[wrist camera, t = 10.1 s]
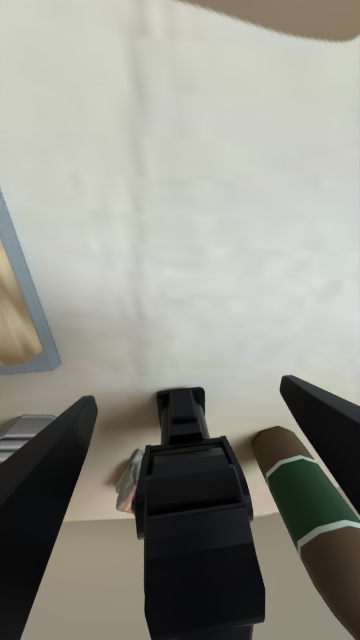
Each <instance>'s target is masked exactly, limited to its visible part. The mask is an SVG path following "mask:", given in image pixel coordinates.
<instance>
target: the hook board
mask: <svg viewBox="0 0 360 640" xmlns="http://www.w3.org/2000/svg"><path fill="white" fill-rule="evenodd" d="M0 240H1V242H2V245H3V247H4V250H5V253H6V255H7V258H8V261H9V263H10V266H11V268H12V271H13V274H14V276H15V279H16V281H17V284H18V287H19V289H20V292H21V294H22V297H23V300H24V302H25V305H26V307H27V310H28V313H29V315H30V318H31V320H32V323H33V326H34V328H35V331H36V334H37V336H38V339H39V341H40V344H41V347H42V349H43V351H41V352H40V353H39V354H37V355H36V356H35V357H34V358H32V359H31V360H30V361H28V362H27V363H26V364H17V365H5V366H0V375H8V374H19V373H30V372H41V371H52V370H54V369H55V368H56V367H57V366H58V365H59V364H60V363H61V361H60V358H59V355H58V352H57V350H56V347H55V344H54V341H53V338H52V335H51V332H50V330H49V327H48V324H47V321H46V318H45V315H44V312H43V310H42V307H41V304H40V301H39V298H38V295H37V292H36V290H35V287H34V284H33V281H32V278H31V275H30V272H29V270H28V267H27V264H26V261H25V258H24V255H23V252H22V250H21V247H20V244H19V241H18V238H17V235H16V232H15V230H14V227H13V224H12V221H11V218H10V215H9V212H8V210H7V207H6V204H5V201H4V198H3V195H2V192H1V190H0Z"/></svg>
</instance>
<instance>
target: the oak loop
mask: <svg viewBox="0 0 360 640" xmlns="http://www.w3.org/2000/svg"><path fill="white" fill-rule="evenodd" d="M41 351H43V349H42V347H41V344H40V341H39V339H38V336H37V334H36V331H35V328H34V326H33V323H32V320H31V318H30V315H29V313H28V310H27V307H26V305H25V302H24V300H23V297H22V294H21V292H20V289H19V287H18V284H17V281H16V279H15V276H14V274H13V271H12V268H11V266H10V263H9V261H8V258H7V255H6V253H5V250H4V247H3V245H2V242H1V240H0V366H5V365H17V364H26V363H27V362H28V361H30V360H31V359H32V358H34V357H35V356H36V355H37V354H39V353H40V352H41Z"/></svg>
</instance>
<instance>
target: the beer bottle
mask: <svg viewBox="0 0 360 640" xmlns="http://www.w3.org/2000/svg"><path fill="white" fill-rule="evenodd" d="M252 444H253V450H254V455H255V458H256V460H257V463H258V465H259V468H260V470H261V472H262V474H263V476H264V479H265V481H266V483H267V485H268V487H269V490H270V492H271V494H272V496H273V499H274V501H275V503H276V505H277V507H278V510H279V512H280V514H281V516H282V518H283V521H284V523H285V525H286V527H287V529H288V532H289V534H290V536H291V538H292V541H293V543H294V545H295V547H296V549H297V552H298V554H299V556H300V558H301V560H302V562H303V564H304V566H305V568H306V570H307V572H308V574H309V576H310V578H311V580H312V582H313V584H314V586H315V588H316V589H317V591H318V592H319V594H320V595H321V596H322V598H323V600H324V601H325V603H326V604H327V606H328V607H329V608H330V610H331V611H332V613H333V614H334V616H335V617H336V618H337V619H338V620H339V621H340V623H341V624H342V625H343V626H344V627H345V628H346V629H347V631H348V632H349V633H350V634H351V635H352V636H353V637H354V639H355V640H360V520H359V519H358V517H357V516H356V515H355V513H354V512H353V511H352V509H351V508H350V507H349V505H348V504H347V503H346V501H345V500H344V499H343V497H342V496H341V495H340V493H339V492H338V491H337V489H336V488H335V486H334V485H333V484H332V482H331V481H330V480H329V478H328V477H327V476H326V474H325V473H324V472H323V470H322V469H321V468H320V466H319V465H318V464H317V462H316V461H315V460H314V458H313V457H312V456H311V454H310V453H309V451H308V450H307V449H306V447H305V446H304V445H303V443H302V442H301V441H300V440H299V438H298V437H297V436H296V435H295V434H294V432H292V431H290V430H287V429H285V428H282V427H280V426H278V427H274V428H271V429H267V430H263V431H262V432H261V433H260V434H259V435H258V436H257V437H256V438H255V439H254V440H253V441H252Z"/></svg>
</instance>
